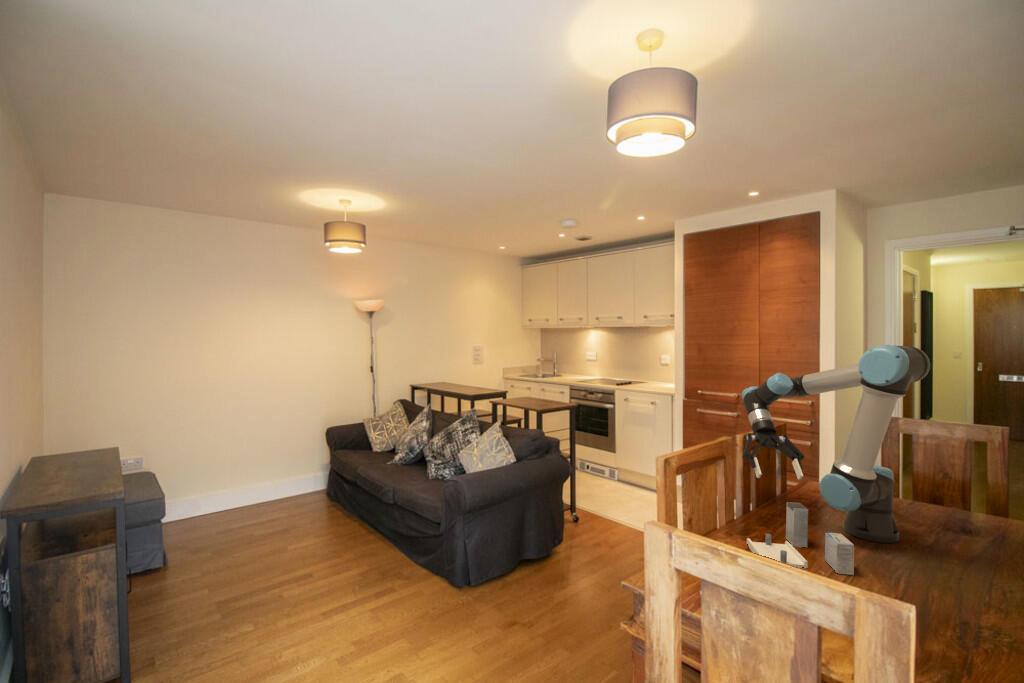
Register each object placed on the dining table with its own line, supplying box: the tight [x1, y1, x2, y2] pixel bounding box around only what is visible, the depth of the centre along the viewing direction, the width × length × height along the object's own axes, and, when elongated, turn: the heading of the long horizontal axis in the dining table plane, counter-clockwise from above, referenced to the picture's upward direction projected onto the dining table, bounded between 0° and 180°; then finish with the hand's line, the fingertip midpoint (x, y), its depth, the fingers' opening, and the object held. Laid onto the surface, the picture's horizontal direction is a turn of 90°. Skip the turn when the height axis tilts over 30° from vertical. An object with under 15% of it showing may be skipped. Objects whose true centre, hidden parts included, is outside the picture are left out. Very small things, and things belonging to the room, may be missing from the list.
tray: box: [746, 533, 809, 570], centre depth 146 cm, size 12×14×4 cm
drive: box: [785, 501, 809, 549], centre depth 156 cm, size 4×6×12 cm
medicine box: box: [824, 532, 855, 576], centre depth 139 cm, size 8×4×9 cm, turn 168°
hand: (780, 477), depth 167 cm, fingers open, 13 cm apart
